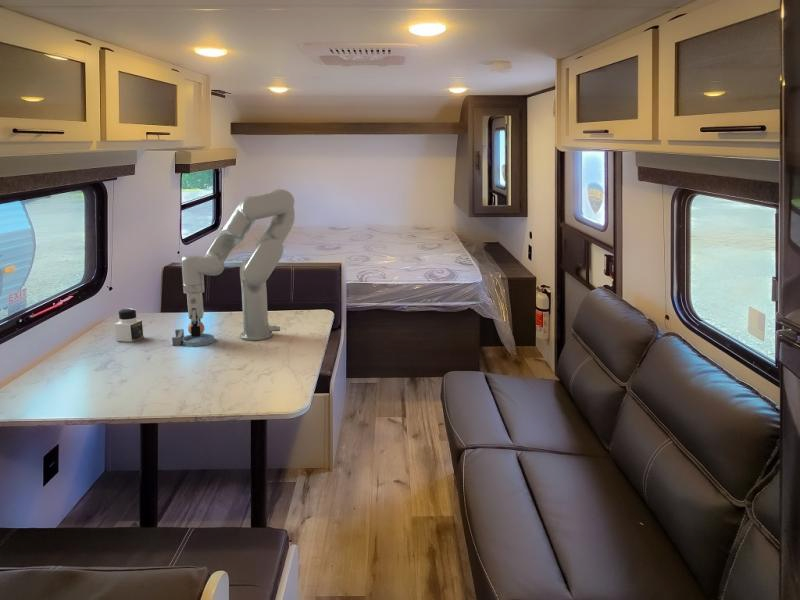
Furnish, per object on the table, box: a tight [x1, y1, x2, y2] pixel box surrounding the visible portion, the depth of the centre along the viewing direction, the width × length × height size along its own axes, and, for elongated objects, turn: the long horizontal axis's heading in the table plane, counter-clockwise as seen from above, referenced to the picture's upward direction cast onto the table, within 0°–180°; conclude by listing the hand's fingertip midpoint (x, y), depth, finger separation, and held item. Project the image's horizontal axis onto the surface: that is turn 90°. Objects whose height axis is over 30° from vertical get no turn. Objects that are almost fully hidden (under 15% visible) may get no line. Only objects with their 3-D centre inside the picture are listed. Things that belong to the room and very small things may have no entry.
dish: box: [181, 332, 215, 347], centre depth 226 cm, size 12×12×2 cm
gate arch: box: [171, 328, 185, 346], centre depth 227 cm, size 3×12×3 cm, turn 14°
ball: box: [187, 320, 205, 335], centre depth 225 cm, size 6×6×6 cm
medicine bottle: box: [114, 307, 144, 343], centre depth 228 cm, size 7×7×12 cm
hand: (196, 333), depth 225 cm, fingers closed on ball, 5 cm apart
